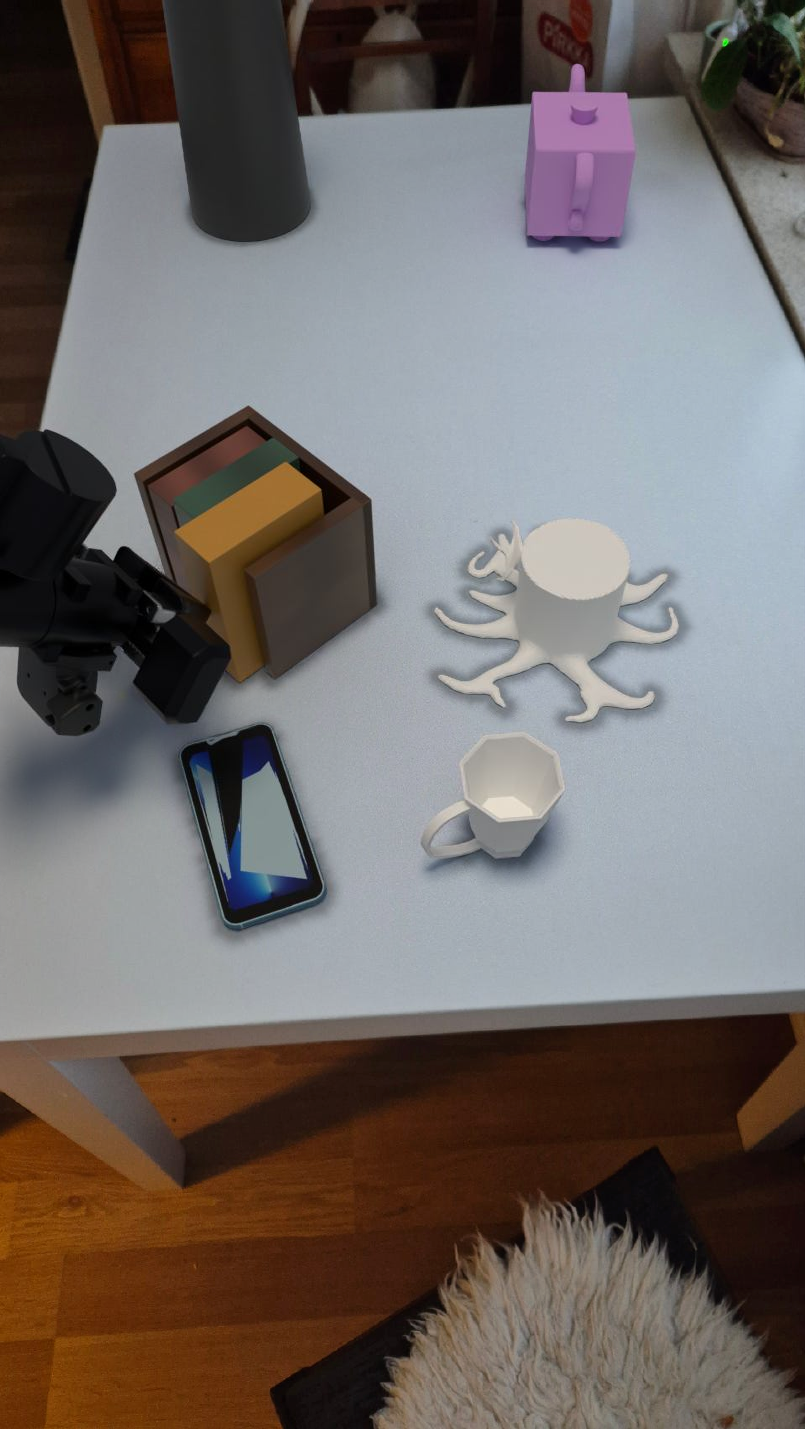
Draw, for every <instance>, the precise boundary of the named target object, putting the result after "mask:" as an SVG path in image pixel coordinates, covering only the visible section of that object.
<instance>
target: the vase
mask: <svg viewBox="0 0 805 1429" xmlns="http://www.w3.org/2000/svg"><path fill="white" fill-rule="evenodd" d="M161 1H162V2H161V3H162V8H163V15H164V16H163V18H164V23H165V32H166V37H167V38H166V39H167V46H168V52H169V61H170V67H171V73H172V74H171V75H172V82H173V89H174V96H175V98H174V99H175V103H176V104H175V105H176V111H177V117H178V127H179V133H180V141H181V148H182V155H183V163H184V170H185V174H186V175H185V176H186V184H187V191H188V196H189V205H190V206H189V207H190V211H191V216H192V219H193V221H194V222H195V224H196V225H197V226H198V227H199V228H200V229H201V230H202V231H203V232H204V233H205V232H206V233H207V234H208V235H211V236H213V237H216V238H219V239H222V240H226V241H235V242H258V241H264V240H269V239H273V238H276V237H279V236H282V235H284V234H286V233H289V232H290V231H292V230H294V229H296V228H297V227H298V226H299V225H301V224H302V222H304V221H305V220H306V218H307V216H308V215H309V213H310V209H311V196H310V194H311V193H310V189H309V180H308V175H307V166H306V161H305V154H304V146H303V141H302V134H301V133H302V132H301V127H300V120H299V112H298V106H297V100H296V99H297V98H296V93H295V86H294V81H293V71H292V67H291V59H290V54H289V46H288V41H287V40H288V39H287V32H286V25H285V19H284V13H283V6H282V0H161Z"/></svg>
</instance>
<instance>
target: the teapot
mask: <svg viewBox="0 0 805 1429" xmlns="http://www.w3.org/2000/svg"><path fill="white" fill-rule="evenodd" d="M585 76H586V75H585V68H584V66H583V65H582V64H580V63H575V64H573V65H572V67H571V71H570V82H569V88H568V91H532V93H531V103H530V114H529V123H528V124H529V125H528V137H527V148H526V160H525V171H524V188H525V191H524V193H525V215H526V235H527V236H532V237H533V238H534V239H535V240H537V241H542V242H547V241H550V240H552V239H554V237H587V238H588V239H589V240H591V241H594V242H597V243H598V242H599V243H600V242H605V241H608V240H609V239H610V238H611V237H612V238H613V237H614V238H621V237H622V234H623V227H624V221H625V217H626V211H627V204H628V198H629V193H630V188H631V182H632V176H633V170H634V166H635V165H634V164H635V159H636V154H637V150H636V144H635V137H634V130H633V122H632V118H631V111H630V104H629V99H628V93H627V92H598V91H597V92H595V91H594V92H592V91H586V77H585Z"/></svg>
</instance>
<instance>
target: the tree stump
mask: <svg viewBox="0 0 805 1429" xmlns="http://www.w3.org/2000/svg"><path fill="white" fill-rule="evenodd" d="M510 522H511V523H512V527H513V528H512V531H513V534H512V539H511V542H509V540H508V539H507V536H506V535H505V533H499V534H498V536H497V538H498V540H497V541H495V540H494V539H493V537H492V536H489V538H490V542H492V544H493V546H494V547H495V548H496V549H497V552H495V554H494V555H493V556H492V557H491V559H490V560H489V561H488V563H487V564H486V565H485V566H484V567H483V568H482V569H476V568H475V567H476V564H477V563H478V559H480V558H482V557H483V556H484V555H485V554H486V553H485V551H483V550H482V551H481V552H479V553H478V554H476V555H475V556H474V557H473V558H472V559H471V560H470V561H469V563H468V566H467V572H468V573H469V575H471V576H472V577H475V578H478V579H481V578H487V576H489V575H490V574H492V573H493V572H495V573H496V574H497V575H499V577H496V578H495V579H496V580H497V581H501V582H503V581H507V582H509V583H511V584H512V585H513V586H514V587H515V588H516V590H515V591H513V592H511V593H508V594H501V595H492V594H488V593H484V592H480V591H478V590H473V589H471V590H469V591H468V594H469V595H470V596H471V598H473V599H474V600H476V601H478V602H480V604H483V605H487V606H489V607H491V608H493V609H495V610H498V611H501V612H504V614H505V615H504V616H502V617H501V618H498V619H496V620H495V621H491V622H488V623H481V624H473V623H471V624H469V623H462V622H458V621H456V620H452V619H451V618H449V617H448V616H447V615H445V614H444V612H443V611H442V610H441V609H440V608H439V607H435V608H434V610H433V612H434V614H435V615H436V616H437V617H438V618H439V619H440V621H441V622H442V623H443V625H444V626H447V628H449V629H450V630H454V631H455V632H458V633H462V634H464V635H466V636H472V637H479V638H481V639H486V638H487V639H510V640H513V641H517V642H518V643H519V644H518V645H519V647H518V649H517V651H516V653H515V654H514V655H513V657H511V659H509V661H506V662H505V663H502V664H500V665H497V666H495V667H492V668H490V669H489V670H487V671H485V672H483V673H481V675H479V676H477V677H475V678H473V679H471V680H466V681H465V680H458V679H456V678H453V677H452V676H449V675H445V674H439V675H438V676H437V678H438V679H439V681H441V682H442V683H444V684H445V685H446V686H448V687H449V688H451V689H452V690H453V691H456V692H459V693H462V694H466V695H478V694H479V695H482V694H483V695H484V694H485V695H486V694H487V695H490V698H492V699H493V701H494V702H495V703H496V704H497V705H499V706H500V707H501V708H502V709H505V708H507V705H506V702H505V701H504V699H503V697H501V692H500V688H499V687H498V686H497V685H496V684H494V682H496V681H498V680H500V679H504V678H506V677H510V676H513V675H517V674H520V673H522V672H525V671H529V670H530V669H532V668H534V667H536V666H538V665H542V664H548V663H549V664H551V665H553V666H554V667H555V668H557V669H558V671H560V672H561V673H562V674H564V675H565V676H566V677H567V678H569V679H570V680H572V681H573V683H575V684H577V686H578V687H579V690H580V692H579V694H580V698H581V699H582V701H583V703H584V704H585V706H586V710H585V711H584V712H582V713H580V714H577V715H568V716H565V718H564V719H565V721H566V722H576V723H584V722H585V723H586V722H588V721H592V720H593V719H595V718H596V716H597V715H598V713H599V711H600V709H602V707H614V708H619V709H623V710H627V709H628V710H635V709H643V708H644V709H645V708H646V707H648V706H650V705H651V704H653V702H654V700H655V693H654V691H653V690H651V691H648V693H646V695H645V696H643V697H633V696H630V695H627V694H624V693H622V692H620V691H619V690H617V689H616V688H614V687H613V686H611V685H610V684H608V683H607V682H605V681H604V680H603V679H602V678H601V677H599V676H598V675H597V673H595V672H594V671H593V670H592V668H590V666H589V663H590V661H592V660H593V659H596V658H597V657H598V656H600V655H601V654H602V653H604V652H605V651H606V649H607V648H608V647H609V646H610V645H611V644H613V643H617V642H630V643H631V642H632V643H638V644H648V645H652V644H653V645H654V644H657V643H658V644H661V643H663V642H665V641H668V640H670V639H672V638H674V637H675V636H676V635H677V634H678V630H679V627H680V625H679V621H678V618H677V616H676V613H675V610H674V607H671V606H670V607H668V609H667V610H668V612H669V617H670V620H671V625H670V627H669V629H668V630H666V631H662V632H651V631H648V630H645V629H642V628H639V627H637V626H635V625H632V624H631V623H628V622H626V621H624V619H622V618H621V617H620V616H619V612H620V609H621V607H622V606H627V605H632V604H637V603H639V602H641V601H643V600H646V599H647V598H649V597H650V596H652V595H653V594H654V593H655V592H656V591H657V590H658V589H659V588H660V587H661V586H662V585H663V584H664V583H665V582H667V578H668V577H669V575H668V574H667V573H661V574H659V575H657V576H656V577H654V578H653V579H651V580H650V581H649V582H647V583H644V584H638V585H635V584H632V583H630V582H628V577H629V574H630V569H631V555H630V552H629V550H628V547H627V545H626V543H625V542H624V541H623V539H622V538H620V535H618V534H617V533H616V532H614V531H613V530H612V529H611V528H610V527H608V526H606V525H605V524H602V523H600V522H597V521H593V520H587V518H578V517H574V518H572V517H569V518H568V517H566V518H560V519H559V518H558V519H556V520H555V519H553V520H552V521H548V522H546V523H544V524H540V526H539V527H537V528H535V529H533V530H532V531H531V532H530V533H529V534H528V535H527V536H526V538H525V540H524V542H523V538H522V536H521V532H520V530H519V527H518V524H517V523H516V521H515V519H513V520H511V521H510ZM516 568H519V570H517V569H516Z"/></svg>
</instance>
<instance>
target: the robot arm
mask: <svg viewBox="0 0 805 1429" xmlns="http://www.w3.org/2000/svg"><path fill="white" fill-rule="evenodd" d="M117 492H118V488H117V483H116V480H115V479H114V477H113V475H112V474H111V473H110V471H109V470H108V468H107V467H106V466H105V465H104V464H103V463H102V462H101V461H100V460H99V458H98V457H96V456H95V455H94V454H92V452H90V451H89V450H88V449H86V448H85V447H83V446H82V445H81V444H79V443H78V442H76V441H74V440H72V439H71V438H69V437H67V436H65V435H63V434H61V433H58V432H56V431H53V430H51V429H47V428H45V429H43V431H42V430H35V429H27V430H23V431H20V432H19V433H18V435H17V436H16V437H15V438H12V437H10V436H7V435H4V434H1V433H0V648H18V653H17V654H18V656H17V669H16V685H17V689H18V692H19V694H20V696H21V697H22V699H23V700H24V701H25V702H26V703H27V704H28V705H29V707H30V708H31V709H32V710H33V711H34V712H35V713H36V714H37V716H38V717H39V718H40V719H41V720H42V722H43V723H44V724H46V726H48V727H49V728H50V729H51V730H52V731H53V732H54V733H55V734H56V735H57V736H61V737H62V736H65V737H80V736H83V735H85V734H89V733H91V732H94V731H95V730H96V729H97V728H98V727H99V726H100V724H101V718H102V710H103V706H104V704H103V703H104V701H103V700H102V698H101V697H100V696H99V695H98V694H97V686H98V681H99V680H98V679H99V672H111V671H112V669H113V667H114V665H115V663H116V661H117V659H118V655H117V654H116V653H115V650H116V648H117V647H118V648H121V649H122V652H123V653H124V654H125V655H126V656H127V657H128V658H129V660H131V661H132V662H133V663H134V664H135V666H137V667H138V670H137V672H136V674H135V676H134V678H133V680H132V685H133V687H134V689H135V692H136V694H137V695H138V696H139V697H140V698H141V699H142V700H143V702H144V703H146V705H147V706H148V707H149V708H150V709H151V710H152V711H153V712H154V713H155V714H156V715H157V716H158V717H159V718H160V719H161V720H162V721H163V722H164V723H165V724H166V725H167V726H177V725H178V726H179V725H190V724H195V723H196V724H197V723H198V722H199V720H200V718H201V716H202V714H203V713H204V710H206V706H207V705H208V703H209V701H210V699H211V697H212V696H213V694H214V692H215V690H216V688H217V686H218V684H219V683H220V681H221V679H222V677H223V675H224V673H225V671H226V670H225V669H226V667H227V666H228V664H229V662H230V660H231V650H230V645H229V644H228V643H227V642H226V641H224V640H223V639H222V638H221V637H220V636H219V635H218V634H217V633H216V632H215V631H214V630H213V629H212V628H211V627H209V626H208V625H207V624H206V622H207V621H208V619H209V617H210V615H211V610H210V609H209V608H208V607H207V606H206V605H205V604H203V603H202V602H200V601H199V600H198V599H196V598H195V597H194V596H192V595H191V594H190V593H188V592H187V591H186V590H184V589H183V588H181V587H180V586H179V585H177V584H176V583H175V582H173V581H172V580H171V579H169V578H168V577H167V576H166V575H165V573H163V572H161V570H159V569H158V568H156V567H155V566H154V565H152V564H151V563H150V562H148V561H147V560H146V559H144V558H143V557H142V556H140V555H139V554H137V553H136V552H135V551H134V550H133V549H132V548H130V547H129V546H126V545H122V546H120V547H119V548H118V549H117V551H116V553H115V555H114V558H113V559H112V558H111V557H110V556H109V555H108V554H107V553H105V552H104V551H103V549H99V548H94V547H93V548H91V547H88V546H87V544H85V541H86V540H87V538H88V537H89V535H90V534H91V532H92V531H93V530H94V528H95V526H96V525H97V523H98V522H99V521H100V519H101V518H102V516H103V515H104V513H105V512H106V510H107V509H108V507H109V506H110V505H111V503H112V502H113V500H114V499H115V497H116V496H117Z"/></svg>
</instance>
